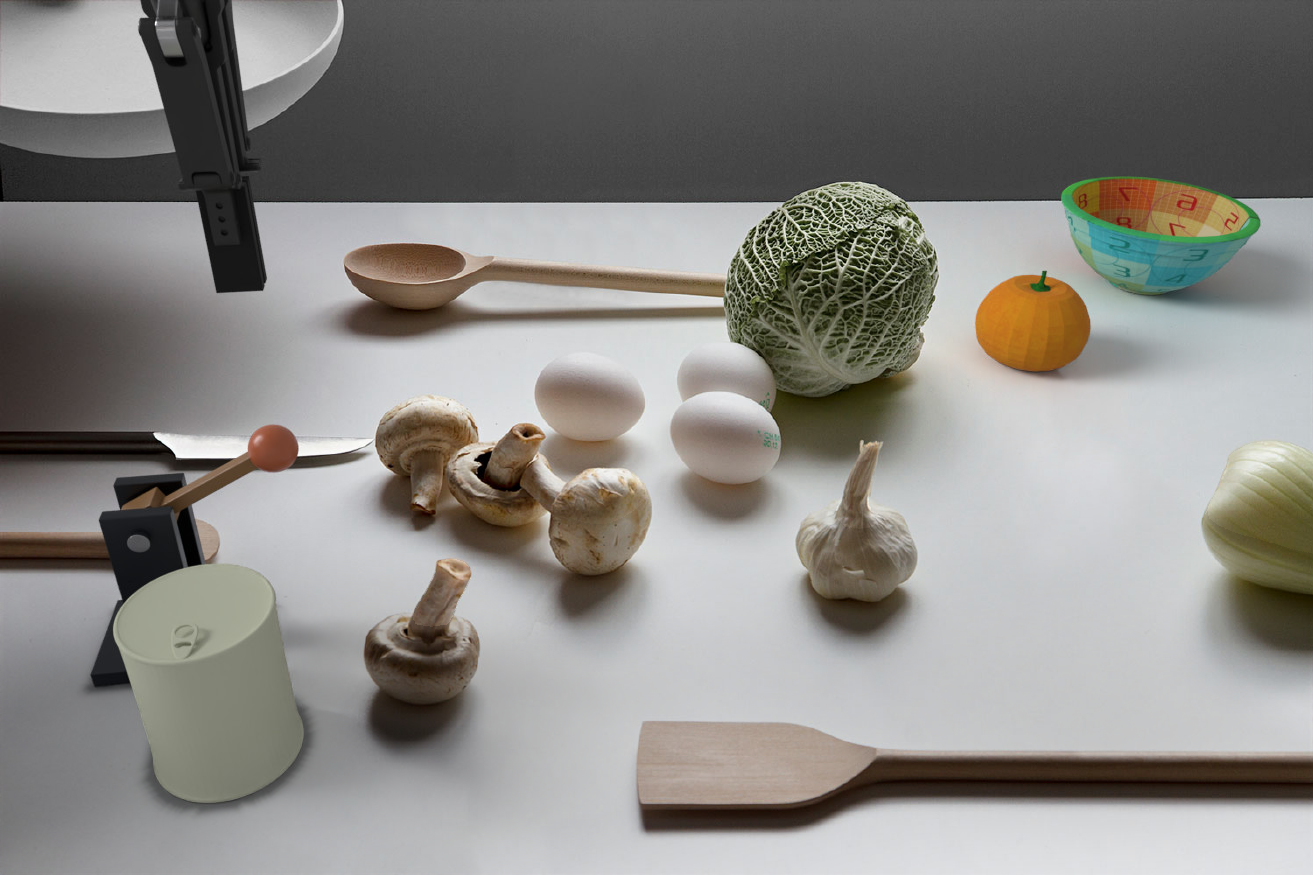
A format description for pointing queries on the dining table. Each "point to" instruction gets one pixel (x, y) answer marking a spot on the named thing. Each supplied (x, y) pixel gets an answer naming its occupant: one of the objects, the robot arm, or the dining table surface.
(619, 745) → the dining table surface
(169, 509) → the bracket
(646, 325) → the dining table surface
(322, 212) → the dining table surface
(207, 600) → the can
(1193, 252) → the bowl
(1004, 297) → the fruit
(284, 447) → the lever
